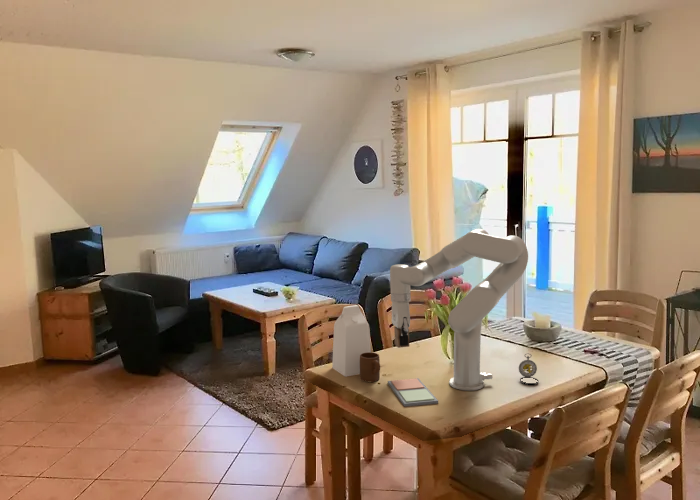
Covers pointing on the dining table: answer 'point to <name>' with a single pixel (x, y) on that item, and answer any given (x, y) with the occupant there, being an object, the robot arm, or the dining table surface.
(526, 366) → the pocket watch
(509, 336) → the dining table surface
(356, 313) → the milk
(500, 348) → the dining table surface
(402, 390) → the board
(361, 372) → the mug
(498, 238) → the robot arm
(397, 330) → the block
